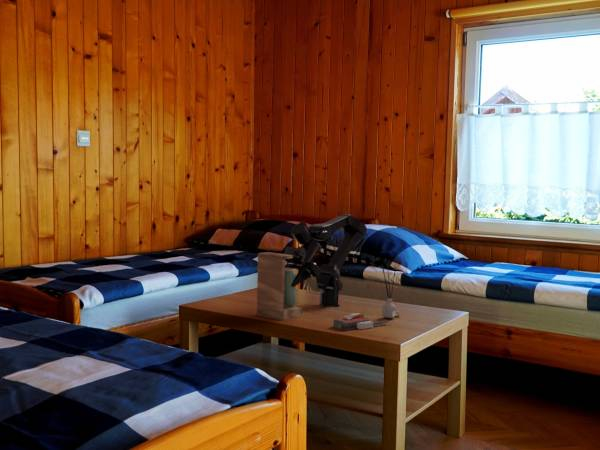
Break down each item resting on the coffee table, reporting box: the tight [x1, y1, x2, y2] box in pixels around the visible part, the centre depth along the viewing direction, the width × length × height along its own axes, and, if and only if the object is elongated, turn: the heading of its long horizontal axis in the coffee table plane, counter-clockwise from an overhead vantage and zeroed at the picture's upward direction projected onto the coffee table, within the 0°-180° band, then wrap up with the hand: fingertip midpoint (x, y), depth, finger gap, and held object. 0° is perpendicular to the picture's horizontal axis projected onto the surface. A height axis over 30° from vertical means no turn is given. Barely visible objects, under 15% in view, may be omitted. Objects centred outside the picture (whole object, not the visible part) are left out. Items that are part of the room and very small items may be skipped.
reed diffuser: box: [381, 263, 401, 319], centre depth 233 cm, size 10×7×20 cm
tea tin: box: [284, 268, 297, 306], centre depth 235 cm, size 5×5×13 cm
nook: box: [256, 251, 303, 321], centre depth 233 cm, size 11×12×22 cm
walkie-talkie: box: [332, 312, 389, 331], centre depth 220 cm, size 9×4×20 cm
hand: (286, 285), depth 234 cm, fingers closed on tea tin, 5 cm apart
